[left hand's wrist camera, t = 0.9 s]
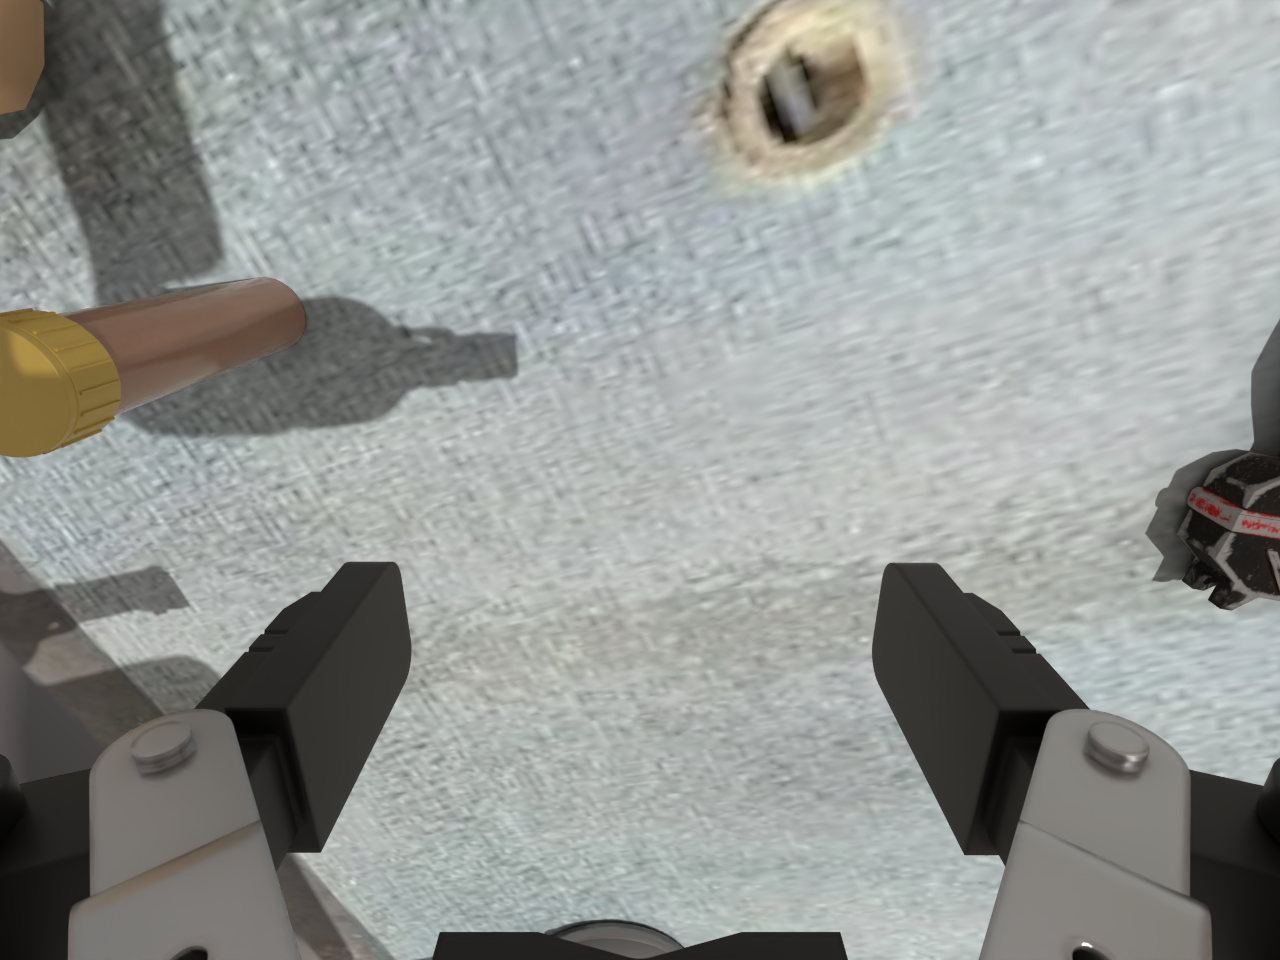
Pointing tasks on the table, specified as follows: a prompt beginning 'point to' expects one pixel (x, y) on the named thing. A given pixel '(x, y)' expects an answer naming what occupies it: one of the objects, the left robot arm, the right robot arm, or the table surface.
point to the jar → (192, 334)
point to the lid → (52, 383)
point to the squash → (20, 52)
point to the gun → (1236, 531)
